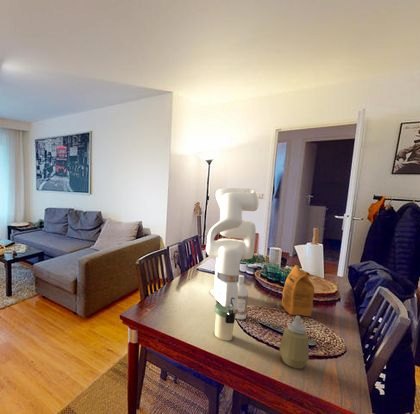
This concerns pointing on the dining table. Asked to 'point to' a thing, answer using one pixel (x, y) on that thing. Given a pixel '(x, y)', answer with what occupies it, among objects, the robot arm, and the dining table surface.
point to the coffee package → (298, 293)
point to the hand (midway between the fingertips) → (224, 317)
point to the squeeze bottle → (295, 344)
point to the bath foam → (242, 299)
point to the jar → (223, 328)
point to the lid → (221, 310)
